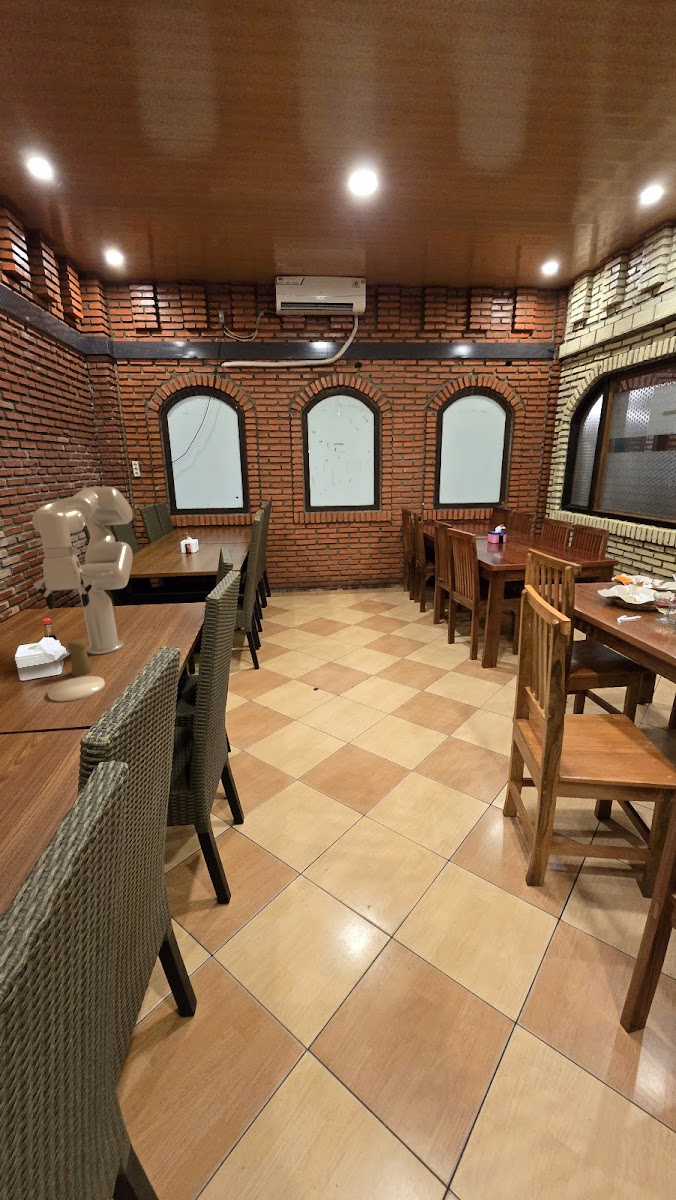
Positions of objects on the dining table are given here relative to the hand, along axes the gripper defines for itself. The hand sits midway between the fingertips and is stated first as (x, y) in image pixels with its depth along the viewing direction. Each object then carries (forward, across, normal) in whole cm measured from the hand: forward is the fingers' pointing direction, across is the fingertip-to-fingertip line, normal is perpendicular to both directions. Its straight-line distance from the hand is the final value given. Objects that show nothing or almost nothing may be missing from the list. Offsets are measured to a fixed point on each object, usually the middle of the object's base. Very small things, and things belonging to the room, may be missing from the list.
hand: (69, 607), depth 150 cm
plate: (+22, -3, +14) cm, 26 cm away
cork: (+22, 0, 0) cm, 22 cm away
